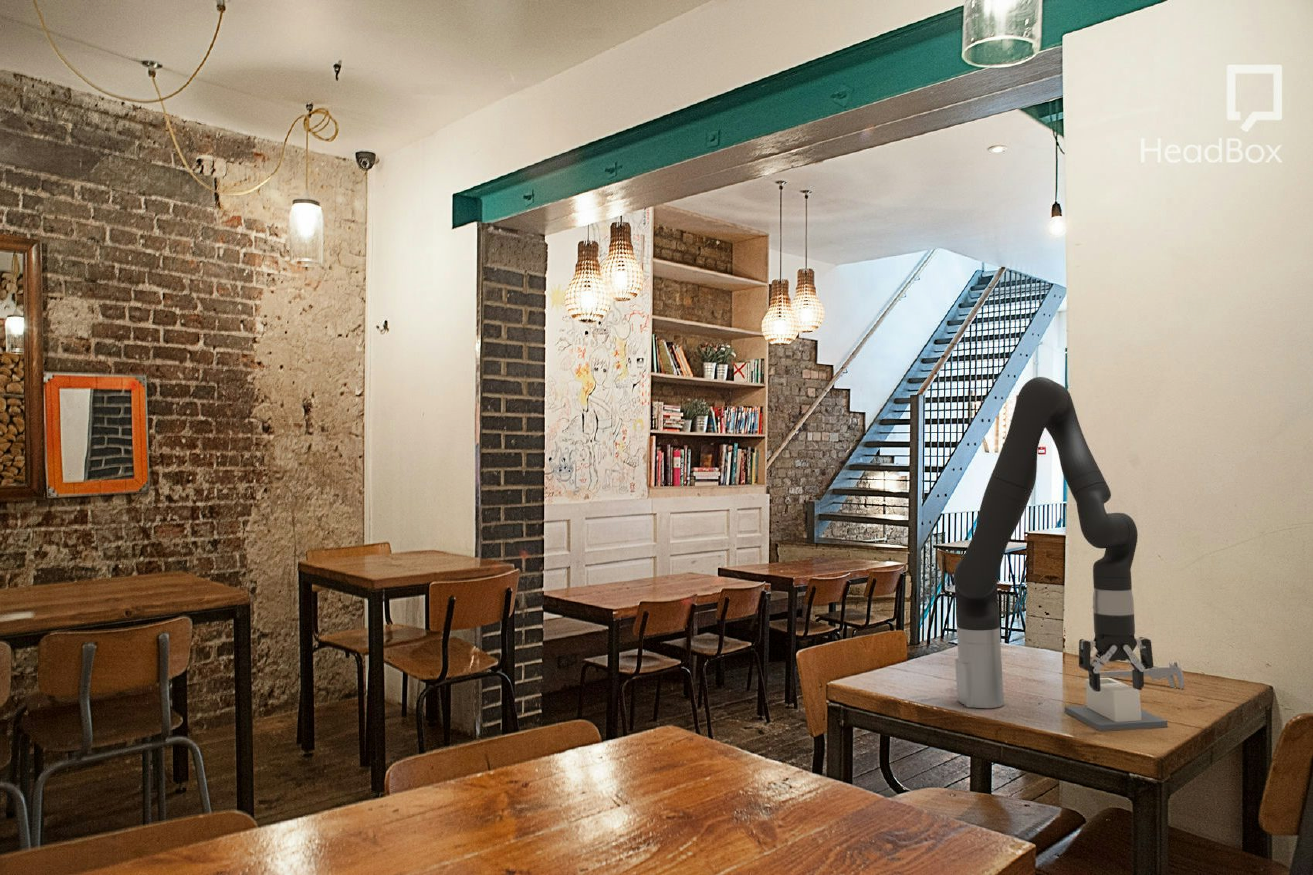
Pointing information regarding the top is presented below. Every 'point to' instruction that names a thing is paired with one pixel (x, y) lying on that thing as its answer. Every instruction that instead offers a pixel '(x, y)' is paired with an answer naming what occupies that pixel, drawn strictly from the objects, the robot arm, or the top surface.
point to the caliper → (1154, 674)
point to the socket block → (1114, 700)
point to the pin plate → (1107, 724)
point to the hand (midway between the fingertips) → (1116, 689)
